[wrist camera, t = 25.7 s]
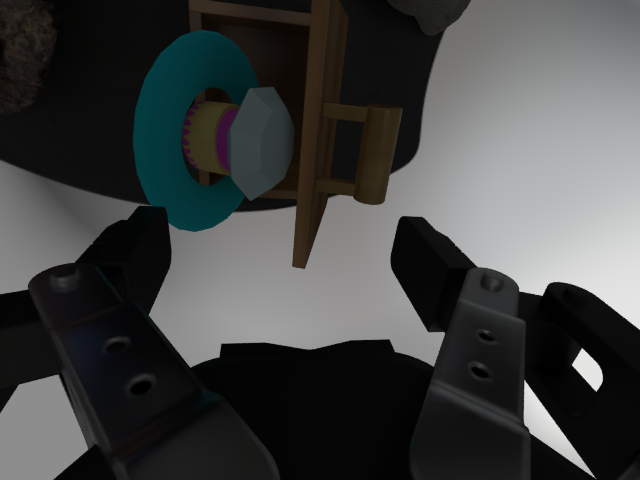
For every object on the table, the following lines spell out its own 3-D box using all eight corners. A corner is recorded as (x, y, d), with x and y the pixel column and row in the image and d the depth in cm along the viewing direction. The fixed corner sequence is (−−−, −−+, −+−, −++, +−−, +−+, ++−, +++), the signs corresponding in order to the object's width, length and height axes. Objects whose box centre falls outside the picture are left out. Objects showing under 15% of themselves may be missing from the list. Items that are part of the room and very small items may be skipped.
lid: (291, 267, 21) (370, 279, 21) (312, -18, 14) (428, -7, 14) (318, 201, 31) (371, 209, 31) (337, 16, 25) (405, 23, 24)
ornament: (249, 288, 18) (180, 101, 11) (180, 267, 19) (76, 87, 12) (321, 169, 25) (310, 3, 17) (267, 159, 26) (234, 1, 18)
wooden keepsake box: (216, 161, 39) (200, 195, 30) (210, 13, 33) (187, -3, 23) (309, 166, 41) (322, 200, 31) (321, 27, 34) (342, 17, 25)
